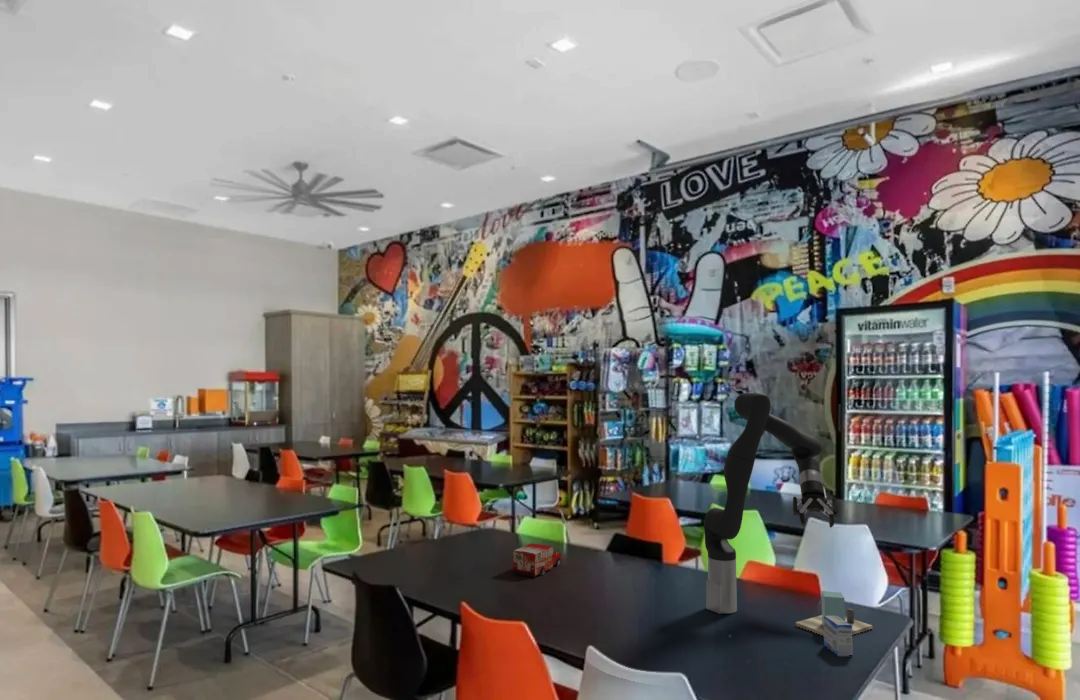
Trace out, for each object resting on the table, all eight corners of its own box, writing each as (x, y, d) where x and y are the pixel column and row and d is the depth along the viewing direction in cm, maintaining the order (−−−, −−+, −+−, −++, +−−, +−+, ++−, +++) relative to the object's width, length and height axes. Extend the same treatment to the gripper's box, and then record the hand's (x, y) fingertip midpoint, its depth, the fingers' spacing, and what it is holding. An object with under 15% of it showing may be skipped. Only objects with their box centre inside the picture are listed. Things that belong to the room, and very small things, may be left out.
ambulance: (564, 565, 281) (564, 540, 281) (535, 579, 259) (535, 553, 260) (542, 561, 286) (542, 538, 287) (511, 575, 265) (511, 550, 265)
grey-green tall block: (845, 631, 201) (844, 597, 201) (825, 630, 202) (824, 596, 203) (841, 625, 206) (840, 592, 207) (822, 623, 208) (821, 591, 208)
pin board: (835, 640, 197) (835, 622, 197) (795, 626, 209) (795, 609, 209) (872, 629, 206) (871, 612, 206) (832, 615, 218) (831, 599, 218)
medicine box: (823, 645, 193) (822, 615, 193) (838, 645, 193) (837, 615, 194) (838, 657, 185) (837, 625, 186) (853, 656, 186) (852, 624, 186)
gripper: (790, 478, 233) (795, 517, 222) (834, 479, 230) (842, 520, 218) (789, 491, 238) (794, 530, 227) (832, 493, 235) (839, 532, 223)
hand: (817, 525), depth 222 cm, fingers open, 8 cm apart
